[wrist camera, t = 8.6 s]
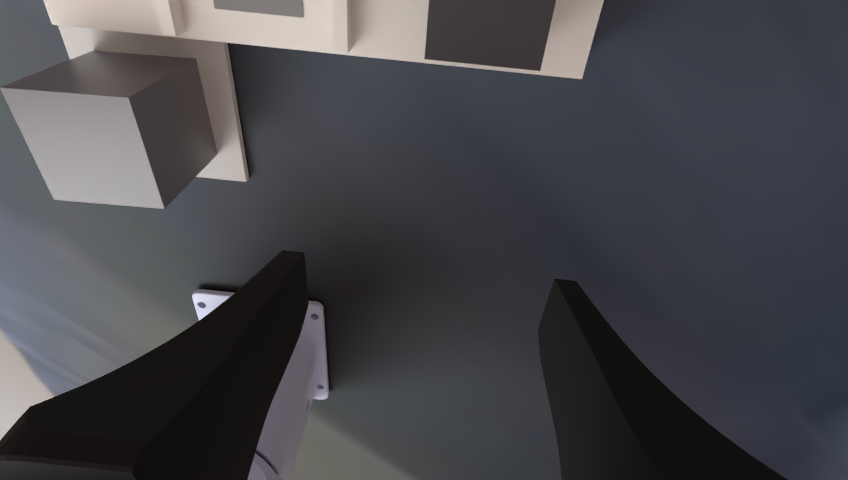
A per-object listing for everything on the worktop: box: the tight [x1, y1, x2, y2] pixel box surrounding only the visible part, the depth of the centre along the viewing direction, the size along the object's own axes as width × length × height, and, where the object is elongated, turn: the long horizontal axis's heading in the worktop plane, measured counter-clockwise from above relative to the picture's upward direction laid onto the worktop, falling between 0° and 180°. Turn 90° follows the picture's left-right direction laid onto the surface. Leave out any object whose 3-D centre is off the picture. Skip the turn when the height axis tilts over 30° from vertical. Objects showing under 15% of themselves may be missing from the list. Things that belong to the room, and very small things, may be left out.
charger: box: [0, 51, 217, 209], centre depth 19 cm, size 4×5×5 cm
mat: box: [58, 25, 249, 182], centre depth 21 cm, size 7×7×1 cm
